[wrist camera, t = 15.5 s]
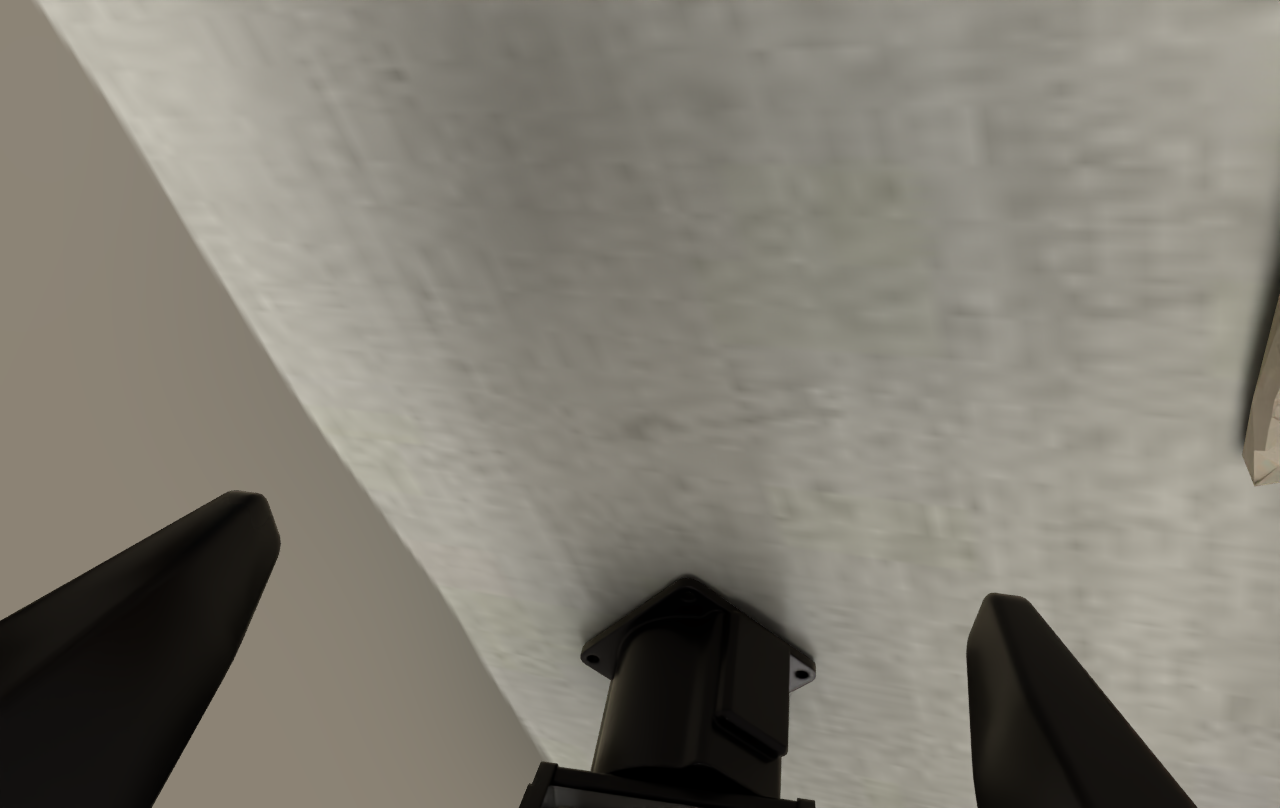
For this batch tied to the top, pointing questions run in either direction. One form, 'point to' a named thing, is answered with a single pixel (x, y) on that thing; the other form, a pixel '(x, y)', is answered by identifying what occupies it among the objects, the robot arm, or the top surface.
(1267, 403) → the packaged product
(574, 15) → the top surface
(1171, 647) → the top surface
